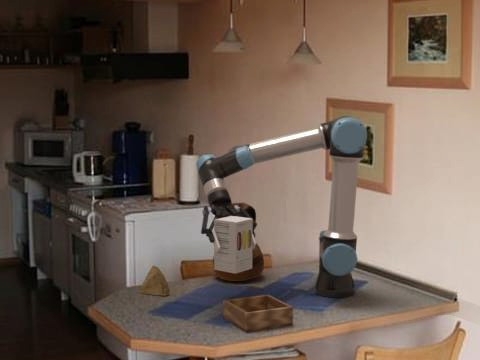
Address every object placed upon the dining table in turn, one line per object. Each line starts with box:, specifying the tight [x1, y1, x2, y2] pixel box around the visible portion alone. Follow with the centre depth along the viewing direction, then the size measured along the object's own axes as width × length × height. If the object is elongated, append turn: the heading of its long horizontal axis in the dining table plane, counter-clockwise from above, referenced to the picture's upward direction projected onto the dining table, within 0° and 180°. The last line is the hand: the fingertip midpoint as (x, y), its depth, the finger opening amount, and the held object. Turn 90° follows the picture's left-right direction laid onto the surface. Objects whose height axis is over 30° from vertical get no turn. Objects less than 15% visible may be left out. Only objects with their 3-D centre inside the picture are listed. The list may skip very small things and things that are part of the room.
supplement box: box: [213, 216, 253, 274], centre depth 265 cm, size 10×9×17 cm
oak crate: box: [222, 294, 294, 333], centre depth 261 cm, size 17×17×6 cm
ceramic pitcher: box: [212, 202, 265, 282], centre depth 316 cm, size 20×20×30 cm
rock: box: [139, 265, 170, 297], centre depth 293 cm, size 11×9×10 cm
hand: (236, 248), depth 263 cm, fingers closed on supplement box, 12 cm apart
